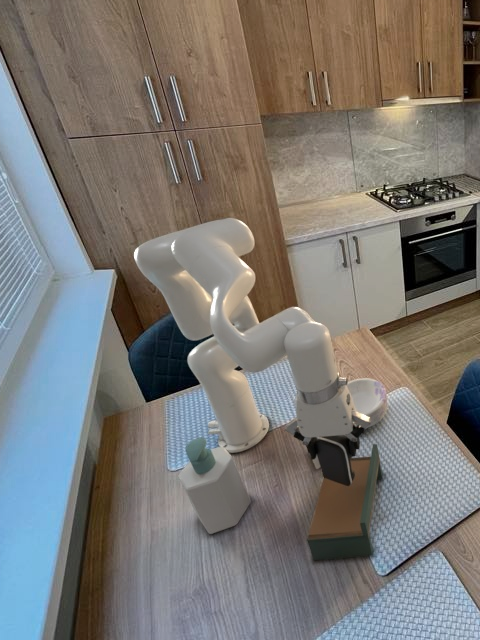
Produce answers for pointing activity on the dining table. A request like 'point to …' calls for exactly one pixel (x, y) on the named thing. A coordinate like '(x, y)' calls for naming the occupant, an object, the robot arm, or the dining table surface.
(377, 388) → the paper bowls
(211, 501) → the soap bottle
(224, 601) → the dining table surface
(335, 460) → the battery charger
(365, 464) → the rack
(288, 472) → the dining table surface
